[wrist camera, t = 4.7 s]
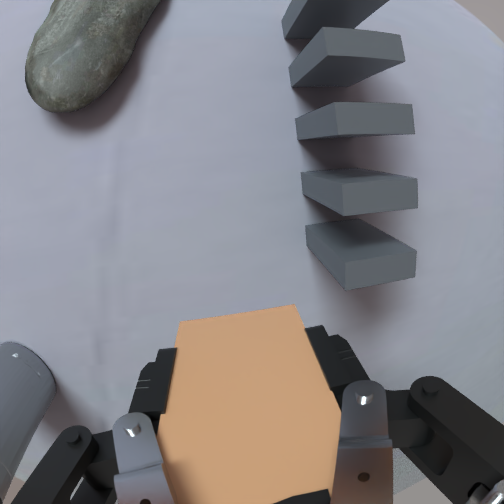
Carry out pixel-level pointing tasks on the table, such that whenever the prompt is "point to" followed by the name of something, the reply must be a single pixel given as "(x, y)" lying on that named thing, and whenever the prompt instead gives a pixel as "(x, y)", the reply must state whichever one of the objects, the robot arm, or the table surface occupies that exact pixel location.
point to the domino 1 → (248, 411)
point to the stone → (82, 50)
